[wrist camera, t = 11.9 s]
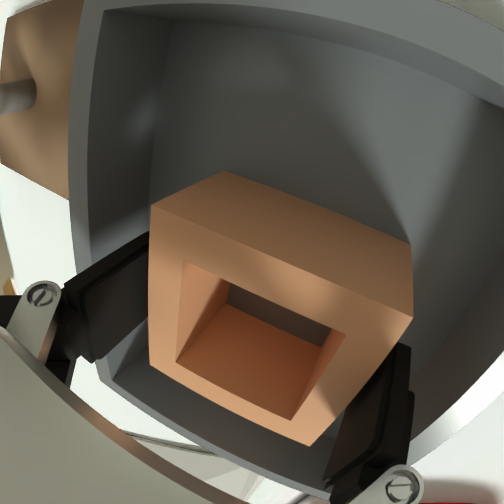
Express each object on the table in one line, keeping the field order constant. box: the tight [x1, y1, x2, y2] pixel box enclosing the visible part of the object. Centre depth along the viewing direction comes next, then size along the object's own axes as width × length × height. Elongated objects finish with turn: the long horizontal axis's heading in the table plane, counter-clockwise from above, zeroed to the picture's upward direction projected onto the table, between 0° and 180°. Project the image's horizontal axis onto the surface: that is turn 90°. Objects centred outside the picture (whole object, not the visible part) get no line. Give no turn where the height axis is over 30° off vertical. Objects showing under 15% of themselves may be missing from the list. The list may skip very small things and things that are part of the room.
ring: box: [148, 171, 413, 446], centre depth 11 cm, size 7×7×4 cm
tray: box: [68, 0, 504, 501], centre depth 11 cm, size 20×16×4 cm
